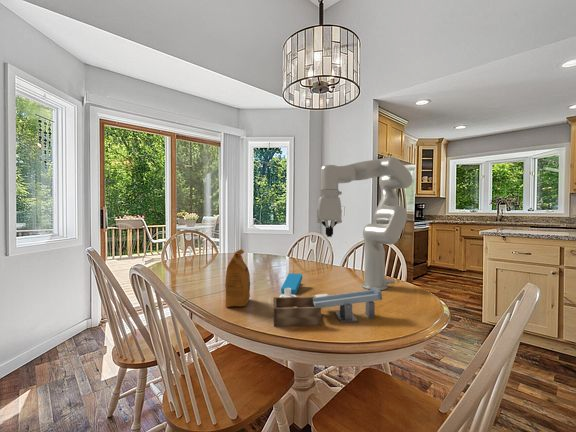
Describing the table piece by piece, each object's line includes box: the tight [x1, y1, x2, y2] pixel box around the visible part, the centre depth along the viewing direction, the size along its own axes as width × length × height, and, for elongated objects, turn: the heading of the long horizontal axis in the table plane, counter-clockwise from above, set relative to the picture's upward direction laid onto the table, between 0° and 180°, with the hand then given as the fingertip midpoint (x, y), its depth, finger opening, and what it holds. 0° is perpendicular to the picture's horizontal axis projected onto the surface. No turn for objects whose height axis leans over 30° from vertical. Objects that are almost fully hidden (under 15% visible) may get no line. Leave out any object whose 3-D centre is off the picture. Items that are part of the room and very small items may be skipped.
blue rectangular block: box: [280, 273, 303, 295], centre depth 141 cm, size 7×7×18 cm
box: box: [272, 296, 322, 327], centre depth 103 cm, size 16×12×6 cm
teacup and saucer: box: [278, 288, 298, 297], centre depth 128 cm, size 9×8×4 cm
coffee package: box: [224, 248, 251, 308], centre depth 119 cm, size 10×12×22 cm
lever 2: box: [313, 287, 383, 309], centre depth 108 cm, size 24×12×3 cm, turn 93°
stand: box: [334, 301, 376, 323], centre depth 105 cm, size 13×10×6 cm
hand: (329, 236), depth 125 cm, fingers closed
